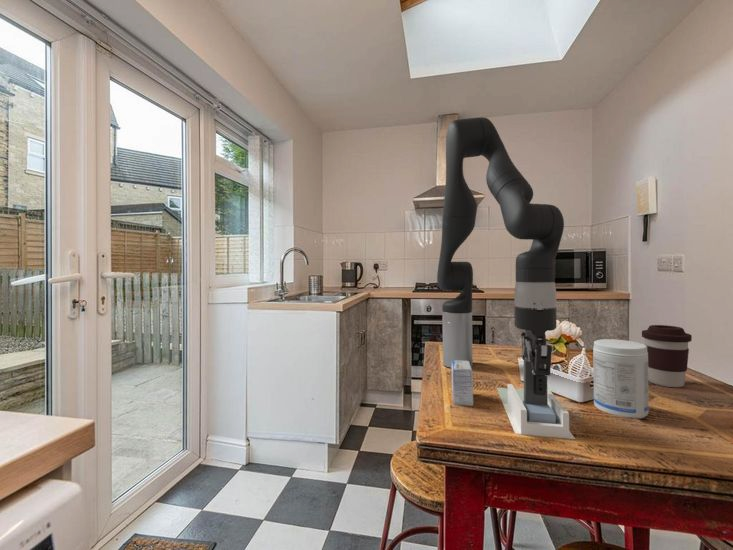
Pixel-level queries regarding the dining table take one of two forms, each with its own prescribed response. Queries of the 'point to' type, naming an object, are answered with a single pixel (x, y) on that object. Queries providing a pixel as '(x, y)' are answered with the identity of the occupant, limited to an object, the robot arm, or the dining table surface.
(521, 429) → the lane fixture
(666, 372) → the coffee cup
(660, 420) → the dining table surface
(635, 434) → the dining table surface
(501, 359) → the dining table surface
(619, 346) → the supplement tub
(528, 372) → the lane block
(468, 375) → the medicine box
